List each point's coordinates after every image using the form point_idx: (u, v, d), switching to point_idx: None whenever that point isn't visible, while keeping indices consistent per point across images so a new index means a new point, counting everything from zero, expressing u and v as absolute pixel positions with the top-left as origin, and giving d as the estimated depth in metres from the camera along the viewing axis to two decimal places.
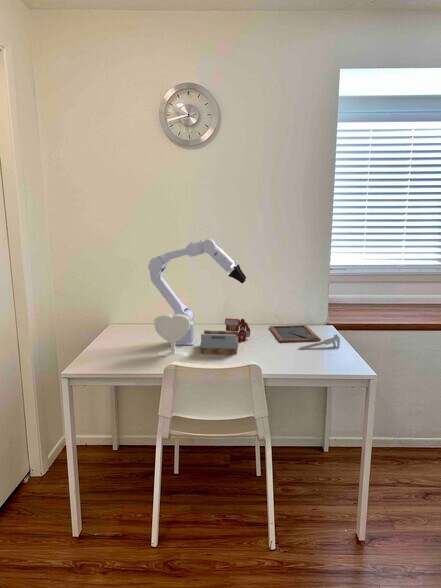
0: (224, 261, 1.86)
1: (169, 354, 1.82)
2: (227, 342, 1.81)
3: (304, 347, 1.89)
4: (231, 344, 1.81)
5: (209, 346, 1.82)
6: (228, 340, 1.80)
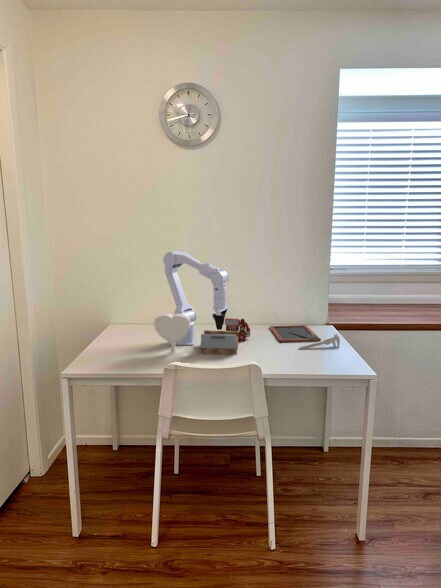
0: (219, 301, 1.82)
1: (169, 354, 1.82)
2: (227, 342, 1.81)
3: (304, 347, 1.89)
4: (231, 344, 1.81)
5: (209, 346, 1.82)
6: (228, 340, 1.80)
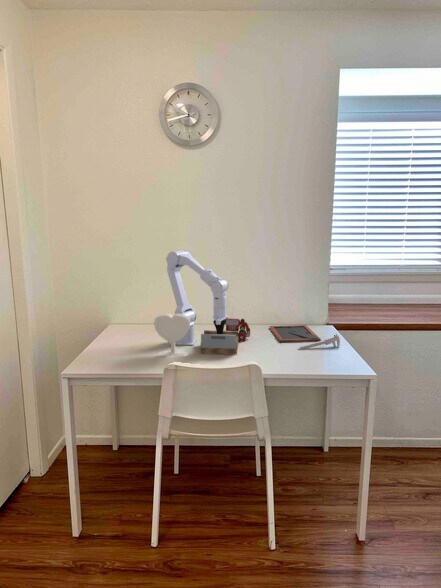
0: (219, 310, 1.83)
1: (169, 354, 1.82)
2: (227, 342, 1.81)
3: (304, 347, 1.89)
4: (231, 344, 1.81)
5: (209, 346, 1.82)
6: (228, 340, 1.80)
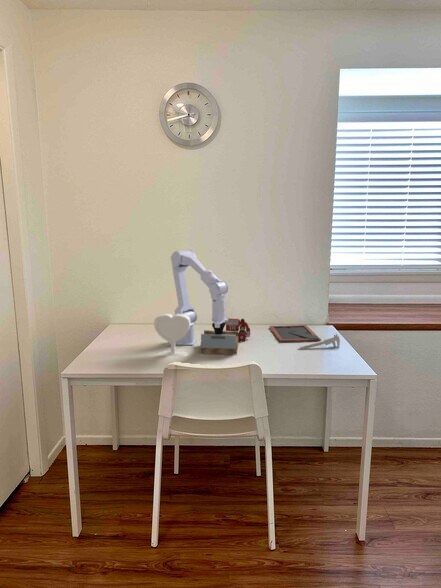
0: (218, 312, 1.78)
1: (169, 354, 1.82)
2: (227, 342, 1.81)
3: (304, 347, 1.89)
4: (231, 344, 1.81)
5: (209, 346, 1.82)
6: (228, 340, 1.80)
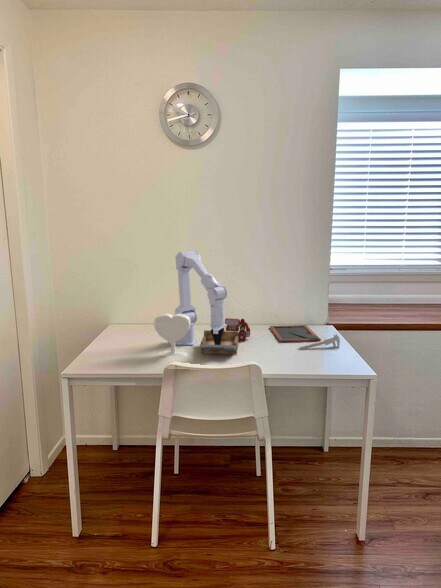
0: (217, 318, 1.73)
1: (169, 354, 1.82)
2: (227, 349, 1.79)
3: (304, 347, 1.89)
4: (231, 349, 1.80)
5: (209, 349, 1.82)
6: (227, 348, 1.79)
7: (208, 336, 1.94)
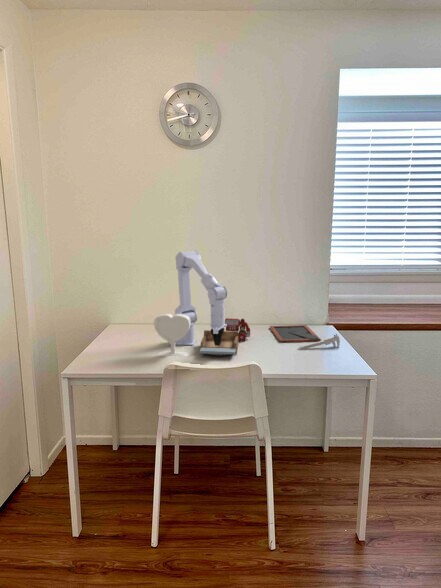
0: (217, 318, 1.73)
1: (169, 354, 1.82)
2: None
3: (304, 347, 1.89)
4: None
5: None
6: None
7: (208, 336, 1.94)
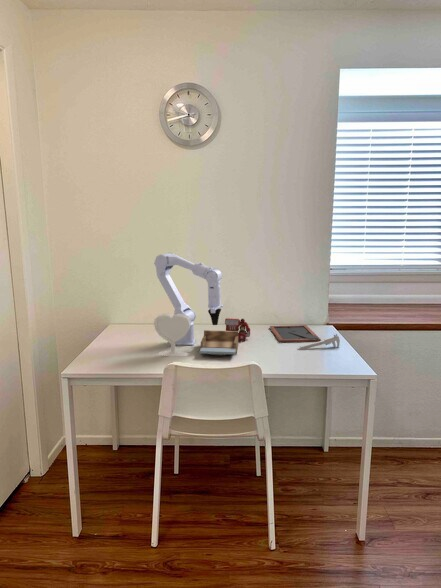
0: (214, 299, 1.86)
1: (169, 354, 1.82)
2: None
3: (304, 347, 1.89)
4: None
5: None
6: None
7: (208, 336, 1.94)
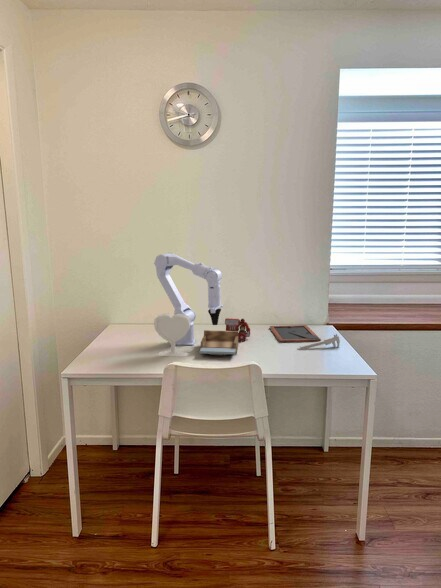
0: (214, 299, 1.86)
1: (169, 354, 1.82)
2: None
3: (304, 347, 1.89)
4: None
5: None
6: None
7: (208, 336, 1.94)
